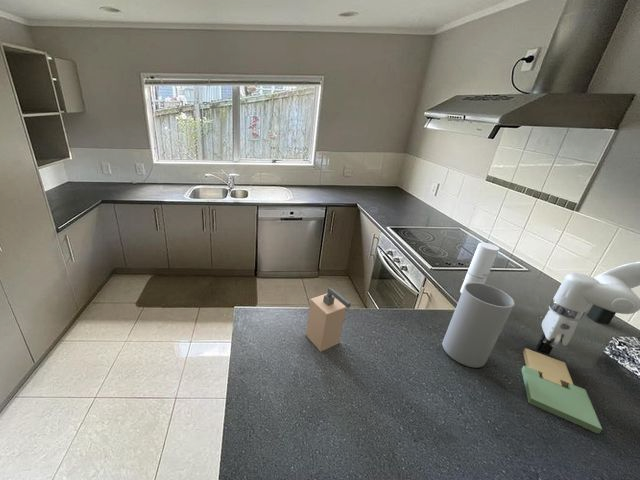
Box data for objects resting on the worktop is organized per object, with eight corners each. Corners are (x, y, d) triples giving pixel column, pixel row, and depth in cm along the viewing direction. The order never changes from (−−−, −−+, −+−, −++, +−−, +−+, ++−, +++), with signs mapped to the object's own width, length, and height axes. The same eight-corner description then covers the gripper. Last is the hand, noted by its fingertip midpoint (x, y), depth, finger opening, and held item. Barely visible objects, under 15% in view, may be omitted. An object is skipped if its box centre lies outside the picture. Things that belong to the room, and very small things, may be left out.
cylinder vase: (482, 375, 89) (513, 313, 79) (438, 353, 96) (461, 294, 87) (486, 353, 97) (515, 294, 88) (445, 334, 105) (467, 278, 95)
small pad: (562, 366, 93) (565, 362, 92) (573, 396, 83) (576, 391, 83) (522, 352, 98) (525, 347, 97) (528, 378, 89) (531, 373, 88)
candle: (596, 322, 114) (630, 270, 104) (584, 314, 119) (616, 263, 109) (610, 324, 113) (646, 272, 104) (598, 316, 118) (631, 265, 108)
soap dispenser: (305, 334, 102) (312, 284, 93) (323, 327, 106) (331, 278, 97) (328, 361, 92) (339, 307, 83) (348, 352, 95) (359, 299, 87)
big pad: (582, 393, 84) (585, 389, 83) (598, 434, 74) (602, 429, 73) (521, 369, 91) (523, 365, 91) (528, 403, 81) (531, 398, 80)
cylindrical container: (482, 299, 126) (503, 250, 116) (466, 298, 126) (486, 249, 116) (471, 289, 132) (490, 242, 123) (456, 289, 132) (474, 241, 123)
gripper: (591, 327, 84) (562, 371, 91) (575, 301, 95) (551, 342, 102) (556, 317, 88) (532, 359, 95) (545, 293, 99) (524, 333, 106)
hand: (542, 350), depth 98 cm, fingers closed
